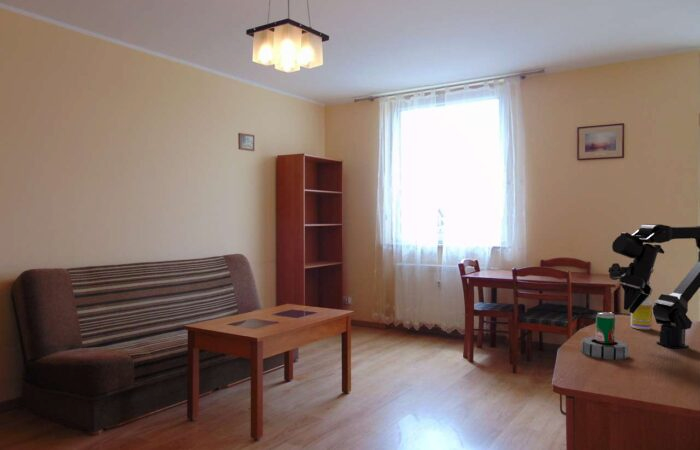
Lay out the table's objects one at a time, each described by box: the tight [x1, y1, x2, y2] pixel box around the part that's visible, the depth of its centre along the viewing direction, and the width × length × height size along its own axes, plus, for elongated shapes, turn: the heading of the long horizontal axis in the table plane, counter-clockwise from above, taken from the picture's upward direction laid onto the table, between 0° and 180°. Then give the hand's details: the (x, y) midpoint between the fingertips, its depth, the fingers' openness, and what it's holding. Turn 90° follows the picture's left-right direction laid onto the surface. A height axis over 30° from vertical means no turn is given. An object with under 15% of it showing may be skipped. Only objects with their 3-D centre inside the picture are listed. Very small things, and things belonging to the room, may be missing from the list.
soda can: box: [595, 311, 616, 345], centre depth 153 cm, size 5×5×12 cm
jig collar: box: [580, 336, 629, 361], centre depth 153 cm, size 12×12×4 cm
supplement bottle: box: [630, 296, 653, 331], centre depth 188 cm, size 7×7×13 cm
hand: (628, 311), depth 160 cm, fingers open, 9 cm apart
